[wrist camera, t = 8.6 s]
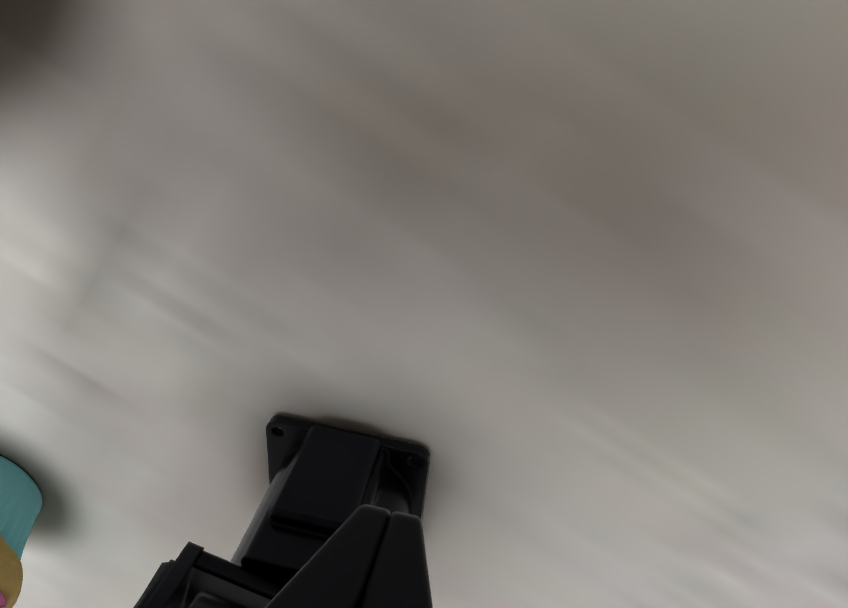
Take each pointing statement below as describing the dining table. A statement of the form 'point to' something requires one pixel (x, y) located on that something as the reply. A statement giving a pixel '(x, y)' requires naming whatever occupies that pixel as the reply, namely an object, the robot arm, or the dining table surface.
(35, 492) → the cupcake
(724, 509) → the dining table surface
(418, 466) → the robot arm
